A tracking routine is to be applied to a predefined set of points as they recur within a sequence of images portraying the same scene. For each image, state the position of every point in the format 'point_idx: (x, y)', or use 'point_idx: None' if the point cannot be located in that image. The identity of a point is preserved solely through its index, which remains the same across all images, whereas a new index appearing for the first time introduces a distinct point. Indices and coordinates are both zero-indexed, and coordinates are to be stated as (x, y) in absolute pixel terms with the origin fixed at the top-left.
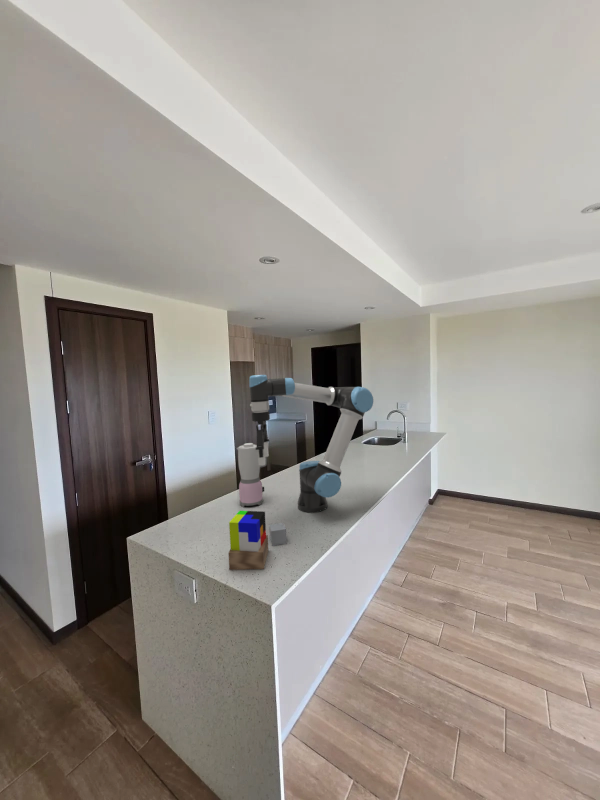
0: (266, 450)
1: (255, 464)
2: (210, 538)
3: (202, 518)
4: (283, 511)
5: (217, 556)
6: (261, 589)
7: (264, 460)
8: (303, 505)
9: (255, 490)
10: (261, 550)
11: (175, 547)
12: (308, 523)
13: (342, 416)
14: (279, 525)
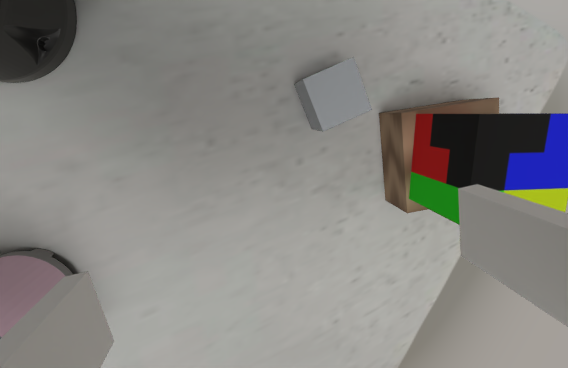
0: (48, 355)
1: None
2: (324, 301)
3: None
4: (88, 135)
5: (410, 239)
6: (536, 82)
7: (521, 204)
8: (41, 43)
9: (22, 296)
10: (490, 105)
11: (374, 360)
12: (183, 7)
13: None
14: (327, 89)
